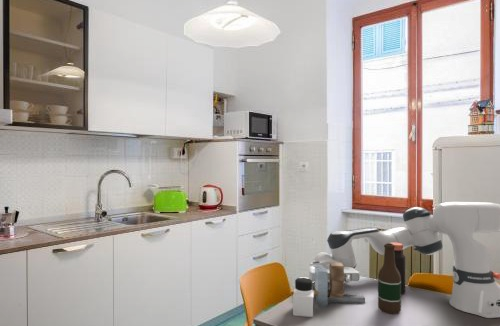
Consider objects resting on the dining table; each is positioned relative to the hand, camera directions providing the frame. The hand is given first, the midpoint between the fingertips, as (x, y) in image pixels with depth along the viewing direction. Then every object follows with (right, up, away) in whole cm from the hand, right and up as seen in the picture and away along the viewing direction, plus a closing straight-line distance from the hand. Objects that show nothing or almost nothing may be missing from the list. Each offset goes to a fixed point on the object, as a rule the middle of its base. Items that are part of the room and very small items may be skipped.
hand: (338, 281), depth 130 cm
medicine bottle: (-15, -8, -9) cm, 19 cm away
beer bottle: (+17, -8, -7) cm, 20 cm away
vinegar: (+27, -8, +10) cm, 30 cm away
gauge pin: (-8, -6, +1) cm, 10 cm away
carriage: (-2, -6, +1) cm, 6 cm away
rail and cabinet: (+1, -8, -1) cm, 8 cm away
